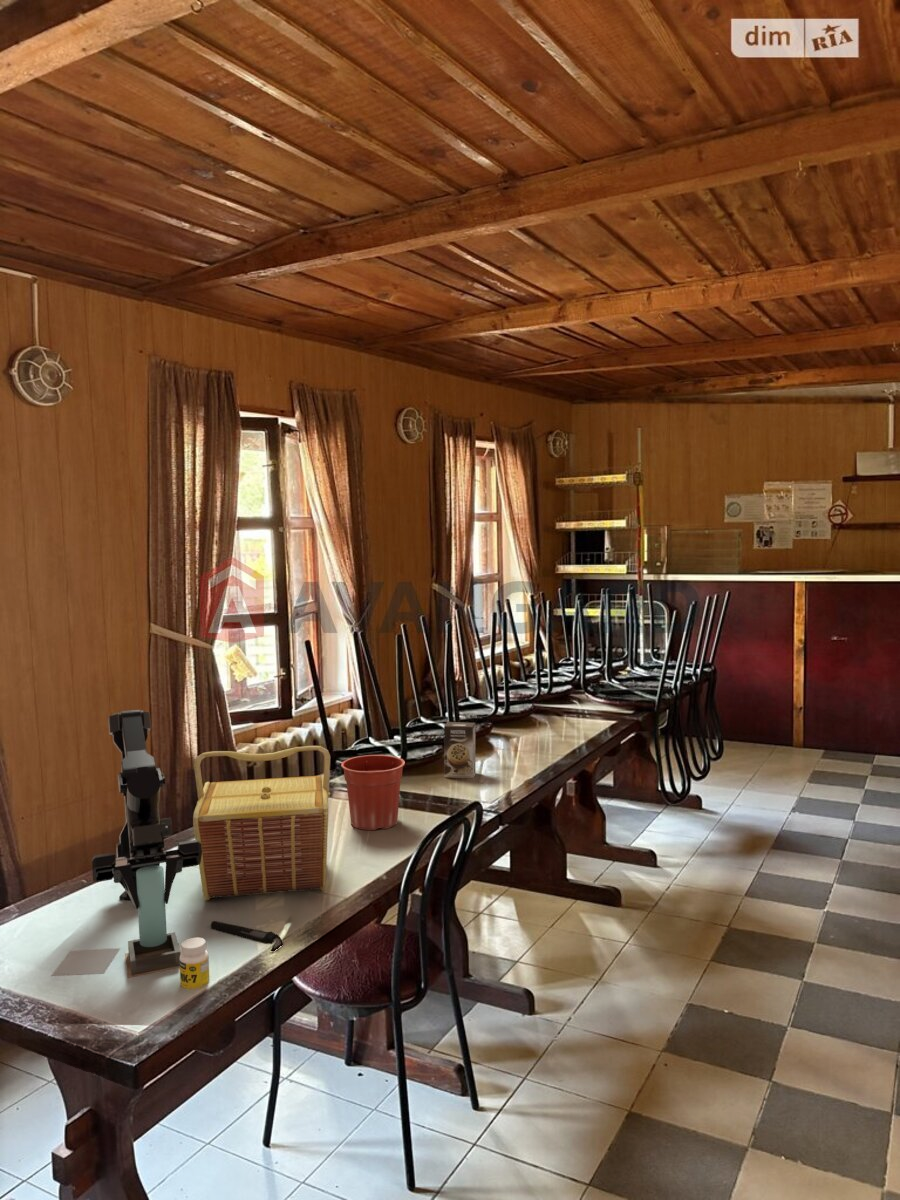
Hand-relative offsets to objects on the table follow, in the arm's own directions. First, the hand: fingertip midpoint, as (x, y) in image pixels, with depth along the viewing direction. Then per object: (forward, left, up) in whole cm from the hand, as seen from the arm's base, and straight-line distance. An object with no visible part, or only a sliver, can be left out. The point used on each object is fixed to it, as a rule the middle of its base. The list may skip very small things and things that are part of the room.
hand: (152, 905), depth 156 cm
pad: (0, -13, -12) cm, 18 cm away
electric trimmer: (-12, +13, -13) cm, 21 cm away
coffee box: (-120, +47, -12) cm, 130 cm away
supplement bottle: (+6, +9, -12) cm, 17 cm away
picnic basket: (-39, +9, -12) cm, 42 cm away
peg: (-1, -1, -7) cm, 7 cm away
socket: (-1, -1, -12) cm, 12 cm away
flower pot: (-77, +27, -12) cm, 83 cm away
